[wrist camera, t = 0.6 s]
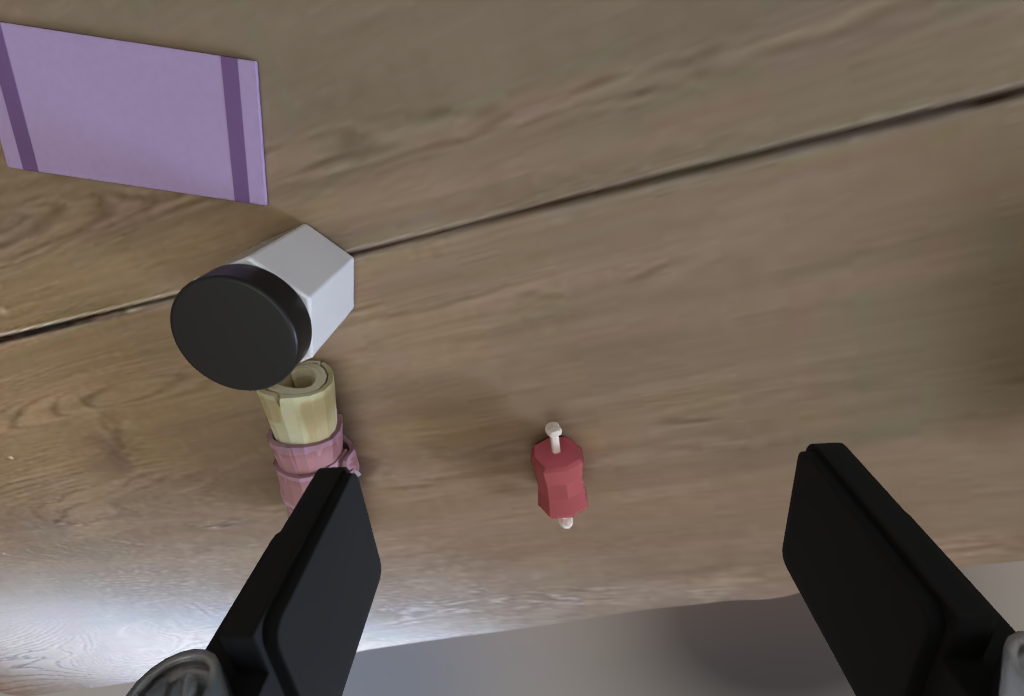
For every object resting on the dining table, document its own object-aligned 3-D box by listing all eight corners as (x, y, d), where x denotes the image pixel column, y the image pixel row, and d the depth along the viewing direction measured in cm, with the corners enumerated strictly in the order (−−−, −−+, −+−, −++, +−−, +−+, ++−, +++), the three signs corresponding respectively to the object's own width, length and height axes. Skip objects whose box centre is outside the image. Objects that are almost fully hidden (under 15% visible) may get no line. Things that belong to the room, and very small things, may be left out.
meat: (519, 417, 48) (534, 447, 44) (569, 404, 49) (588, 432, 45) (535, 514, 54) (550, 550, 49) (580, 501, 54) (598, 535, 50)
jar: (238, 280, 44) (142, 341, 34) (282, 203, 41) (192, 244, 30) (330, 340, 46) (268, 416, 36) (378, 272, 43) (326, 333, 33)
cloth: (-30, 17, 36) (-36, 16, 36) (257, 61, 37) (254, 61, 36) (12, 166, 41) (7, 167, 40) (267, 204, 41) (265, 205, 41)
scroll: (391, 535, 55) (370, 366, 46) (338, 589, 49) (303, 408, 40) (336, 510, 58) (307, 347, 49) (280, 558, 52) (236, 383, 43)
